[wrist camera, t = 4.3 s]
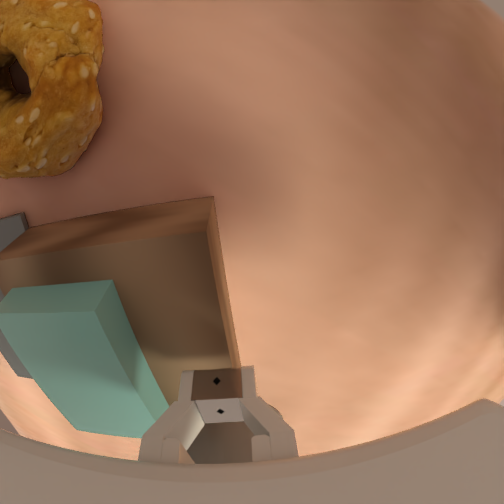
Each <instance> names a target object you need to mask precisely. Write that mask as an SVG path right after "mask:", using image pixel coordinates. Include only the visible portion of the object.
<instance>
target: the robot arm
mask: <svg viewBox="0 0 504 504" xmlns="http://www.w3.org/2000/svg"><path fill="white" fill-rule="evenodd" d="M240 421H244V422H245V424H246V425H247V426H248V427H249V429H250V430H251V431H252V432H253V434H254V435H255V436H253V437H252V438H251V441H252V460H253V462H247V463H229V464H195V463H194V461H193V460H192V458H191V457H190V455H189V454H188V452H187V450H188V448H189V447H190V445H191V444H192V442H193V441H194V439H195V438H196V437H197V435H198V434H199V432H200V431H201V429H202V428H203V426H204V425H205V424H204V423H220V422H240ZM0 504H504V407H503V406H501V405H499V404H497V403H495V402H493V401H491V400H488V399H484V398H483V399H479V400H477V401H474V402H472V403H470V404H468V405H466V406H464V407H462V408H460V409H458V410H456V411H453V412H451V413H449V414H446V415H444V416H442V417H439V418H437V419H434V420H432V421H429V422H427V423H424V424H422V425H419V426H416V427H414V428H411V429H408V430H405V431H402V432H399V433H396V434H393V435H390V436H387V437H383V438H380V439H376V440H373V441H369V442H366V443H362V444H358V445H354V446H350V447H346V448H342V449H337V450H332V451H328V452H323V453H317V454H312V455H306V456H300V457H299V456H298V450H297V445H296V439H295V433H294V430H293V429H292V428H291V427H290V426H289V425H288V424H287V423H286V422H285V421H284V420H283V419H282V418H281V417H280V416H279V415H278V414H277V413H276V412H275V411H274V410H273V409H272V408H271V407H270V406H269V405H268V404H267V403H266V402H265V401H264V400H263V399H262V398H261V397H260V396H259V397H258V393H257V385H256V378H255V371H254V366H244V367H232V368H221V369H211V370H183V372H182V374H181V381H180V388H179V396H178V401H174V402H173V403H172V405H171V406H170V407H169V408H168V409H167V410H166V411H165V412H164V413H163V414H162V415H161V416H160V418H159V419H158V420H157V421H156V422H155V423H154V424H153V425H152V426H151V427H150V428H149V429H148V430H147V431H146V432H145V433H144V434H143V436H142V440H141V446H140V451H139V457H138V461H135V460H127V459H119V458H112V457H106V456H100V455H94V454H89V453H84V452H79V451H74V450H70V449H65V448H61V447H57V446H53V445H50V444H46V443H42V442H39V441H36V440H32V439H29V438H26V437H23V436H20V435H17V434H14V433H11V432H8V431H6V430H3V429H1V428H0Z"/></svg>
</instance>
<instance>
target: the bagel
mask: <svg viewBox="0 0 504 504" xmlns="http://www.w3.org/2000/svg"><path fill="white" fill-rule="evenodd" d="M102 24H103V20H102V17H101V11H100V8H99V7H98V5H97V4H95V3H93V2H90V1H88V0H0V177H1V178H4V179H8V178H15V177H21V178H25V177H29V178H33V177H41V176H48V175H49V176H56V175H59V174H62V173H64V172H66V171H68V170H70V169H71V168H72V167H73V166H74V165H75V163H76V162H77V160H78V159H79V157H80V156H81V154H82V153H83V152H84V151H86V150H87V146H88V144H89V143H90V142H91V140H92V138H93V136H94V134H95V132H96V130H97V129H98V127H99V126H100V124H101V122H102V114H103V107H102V99H101V96H100V94H99V90H98V84H97V82H96V78H97V74H98V72H99V69H100V65H101V64H102V54H103V52H104V46H103V44H102V36H103V34H102ZM16 58H17V60H18V62H19V64H20V65H21V67H22V69H23V70H24V71H25V72H26V73H27V75H28V77H29V86H30V88H31V93H27V94H19V93H17V92H16V89H15V88H14V87H13V85H12V83H11V75H10V72H9V67H10V66H11V65H12V64H13V63H14V61H15V60H16Z"/></svg>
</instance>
